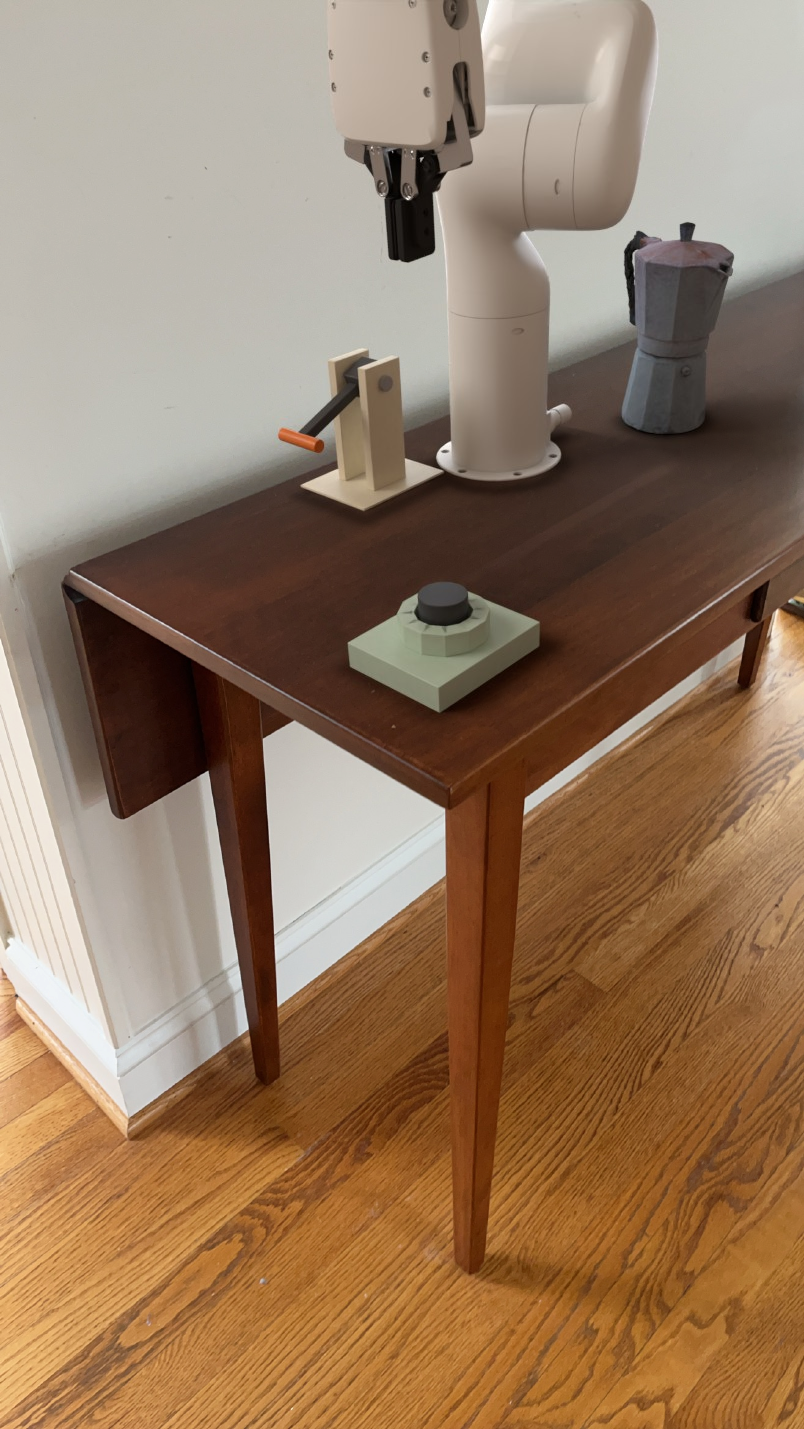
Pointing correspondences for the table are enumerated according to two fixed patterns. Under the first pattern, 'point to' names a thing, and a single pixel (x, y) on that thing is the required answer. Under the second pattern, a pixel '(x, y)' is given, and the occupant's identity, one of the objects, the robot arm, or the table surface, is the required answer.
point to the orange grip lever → (326, 412)
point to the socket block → (443, 651)
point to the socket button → (443, 604)
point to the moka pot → (672, 327)
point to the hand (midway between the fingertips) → (412, 256)
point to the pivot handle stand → (370, 437)
